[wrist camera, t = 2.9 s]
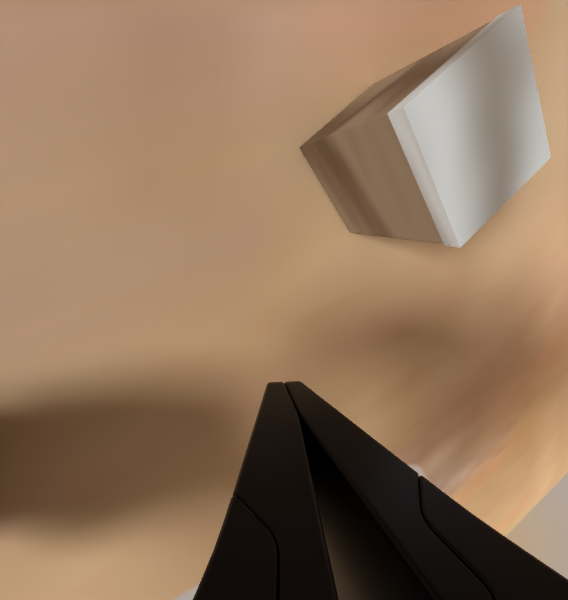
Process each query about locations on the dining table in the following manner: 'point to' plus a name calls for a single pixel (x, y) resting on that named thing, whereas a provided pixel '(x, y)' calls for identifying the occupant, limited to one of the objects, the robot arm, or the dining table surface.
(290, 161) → the dining table surface
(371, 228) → the polished metal block
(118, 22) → the dining table surface
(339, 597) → the robot arm
